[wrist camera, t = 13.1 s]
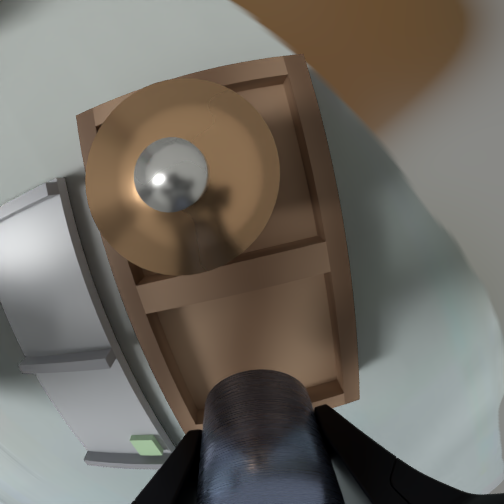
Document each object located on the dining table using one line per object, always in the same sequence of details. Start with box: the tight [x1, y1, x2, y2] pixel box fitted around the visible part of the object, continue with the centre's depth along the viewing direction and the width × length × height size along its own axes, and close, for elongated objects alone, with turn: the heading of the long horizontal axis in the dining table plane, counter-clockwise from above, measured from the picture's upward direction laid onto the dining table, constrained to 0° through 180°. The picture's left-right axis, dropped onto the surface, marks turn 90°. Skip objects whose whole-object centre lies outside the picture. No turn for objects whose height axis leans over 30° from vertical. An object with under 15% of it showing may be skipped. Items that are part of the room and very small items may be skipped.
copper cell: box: [85, 78, 280, 276], centre depth 8 cm, size 4×4×7 cm
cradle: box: [0, 178, 175, 469], centre depth 13 cm, size 7×18×2 cm, turn 13°
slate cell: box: [196, 369, 345, 504], centre depth 6 cm, size 4×4×7 cm
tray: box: [76, 54, 360, 435], centre depth 12 cm, size 9×16×2 cm, turn 13°
